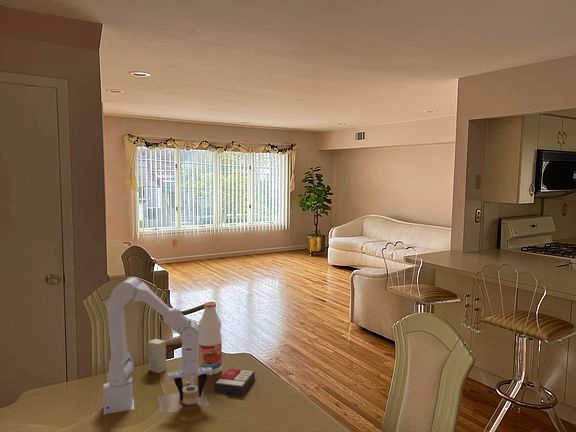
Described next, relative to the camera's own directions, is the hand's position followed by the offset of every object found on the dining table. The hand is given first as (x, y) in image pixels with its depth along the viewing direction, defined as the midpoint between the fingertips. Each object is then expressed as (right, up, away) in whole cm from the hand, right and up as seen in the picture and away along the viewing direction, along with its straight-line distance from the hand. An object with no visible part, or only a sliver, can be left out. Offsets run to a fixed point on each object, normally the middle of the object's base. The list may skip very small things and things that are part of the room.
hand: (190, 397), depth 148 cm
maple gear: (0, -1, 0) cm, 1 cm away
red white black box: (+13, -3, +16) cm, 21 cm away
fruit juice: (+1, -2, +29) cm, 29 cm away
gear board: (-3, -3, +3) cm, 5 cm away
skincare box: (-20, -1, +29) cm, 36 cm away
